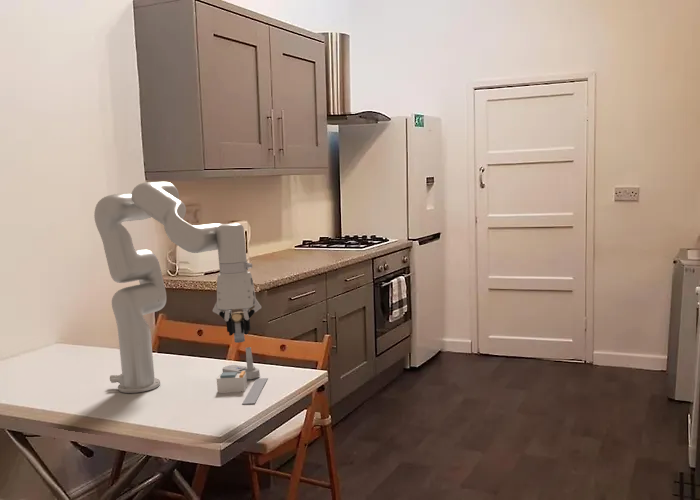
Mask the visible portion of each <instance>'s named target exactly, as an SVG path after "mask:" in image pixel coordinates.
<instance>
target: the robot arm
mask: <svg viewBox="0 0 700 500" xmlns="http://www.w3.org/2000/svg"><path fill="white" fill-rule="evenodd" d="M93 213H94V215H93V216H94V217H93V218H94V221H95V222H94V223H95V226H96V229H97V232H98V234H99V235H100V236H99V237H100V239H101V241H102V245H103V250H104V254H105V258H106V262H107V266H108V270H109V274H110V277H111V278H112V280H113V281H114V282H115V283H119V284H125V283H132V282H135V281H138V282H139V284H134V285H131V286H130V285H129V286H125V287H122V288H121V289H119V290H116V292H115V293H114V294H113V296H112V298H111V308H112V312H113V315H114V318H115V322H116V327H117V336H118V345H119V346H118V347H119V355H120V356H119V357H120V366H121V373H120V374H118V375H117V374H111V375H109V381H110V383H112V384H113V383H114V384H115V383H116V384H117V383H118V386H117V390H118V391H119V392H121V393H125V394H136V393H137V394H138V393H142V392H148V391H152V390H154V389H156V388H158V387H159V386H160V385H161V380H160V379H159V378H157V377H155V367H154V359H153V345H152V333H151V329H150V328H151V327H150V325H149V323H148V322H147V321H146V319H145V317H144V316H145V315H148V314H153V313H155V312H158V311H161V310H162V309H163V308H165V306H166V304H167V298H168V297H167V290H166V287H165V281H164V278H163V273H162V269H161V265H160V261H159V259H158V257H157V255H155V253H154V252H153V251H152V250H150V249H146V248H140V249H135V247H134V244H133V238H132V236H131V234H130V232H129V230H128V229H127V228H126V227H125V226H124V225H123V222H133V221H135V222H136V221H142V220H148V219H151V218H153V219H154V220H155V221H157V222H158V223H159V224H161V225H163V228H164V232H165V234H166V236H167V239H169V240H170V241H171V242H172V243H173V244H175V246H178V247H179V248H181V249H182V250H184V251H187V252H188V253H190V254H191V253H192V254H199V253H204V252H212V251H216V250H217V254H218V255H217V256H218V266H219V274H218V275H217V279H216V302H215V303H214V307H213V308H212V313H214V314H217V315H218V316H220V317H221V318H222V319H223V320H224V321H225V322H226V324H225V325H226V332H227V333H228V335H229V336H232V335H233V336H234V329H233V321H231V313H232V311H237V310H239V311H240V310H242V312H243V313H244V320H243V326H244V336H246V335H248V334H249V331H251V322H250V321H251V320H250V318H251V317H253V315H254V314H255V313H257V312H259V310H261V309H262V305H261V304H260V302H259V301H258V299H257V298H256V297H257V296H256V291H255V285H254V279H253V276H252V272H251V271H249V270H250V269H252V268H253V262H252V263H250V262H248V260H247V249H246V238H245V229H244V225H243V224H241V223H217V222H214V223H204V224H197V225H194V224H193V225H192V224H191V223H189V222H187V221H186V220H184V219H185V217H186V213H187V207H186V204H185V202H183V201H181V200H180V194H179V190H178V189H177V187H176V186H175V185H174V184H173V183H171V182H169V181H145V182H142V183H139V184H138V185H136V186H135V187H134V188H133V189H132V191H131V193H130V192H129V193H127V192H126V193H114V194H109V195H106V196H104V197H102V198H101V199H99V201H98V202H97V204H96V205H95V208H94V212H93ZM250 309H251V310H250Z"/></svg>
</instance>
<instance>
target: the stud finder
mask: <svg viewBox="0 0 700 500" xmlns="http://www.w3.org/2000/svg"><path fill="white" fill-rule="evenodd" d="M247 380H248V379H247V378H246V373H245V371H242V372H241V373H240V374H237V372H226V373H223V372H221V374H219V375H218V376H217V378H216V389H217V393H218V394H219V393H220V394H221V393H222V394H223V393H241V391H242V393H243V391H244V392H245V391H246V390H247V387H248V383H247V382H248V381H247Z"/></svg>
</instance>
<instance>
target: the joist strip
mask: <svg viewBox="0 0 700 500" xmlns="http://www.w3.org/2000/svg"><path fill="white" fill-rule="evenodd" d="M267 381H268V377H264V378H263V377H262V378H259V377H258V378H255V379H254V382H253V384H252V386H251V388H250V389H249V391H248V393H247V395H246V396H245V397H244V400H243V402H242V403H241V405H242V406H243V405H246V406H247V405H256V403H257V400H258V399H259V397H260V395H261V393H262V391H263V389H264V387H265V385H266V383H267Z"/></svg>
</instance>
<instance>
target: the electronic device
mask: <svg viewBox="0 0 700 500" xmlns="http://www.w3.org/2000/svg"><path fill="white" fill-rule="evenodd" d="M252 353H253V352H252V347H250V346H249V347H245V356H246V357H245V362H246V365H245V366H244V365H237V364H231V365H225V366H223V367H222V373H226V372H237V374H240V373H241V372H242V371H245V373H246V378H247V380H253V379H254V380H256V379H258V378H259V377H260V375H261V374H260V369H259V368H257V367H256V366H254V360H253V354H252Z"/></svg>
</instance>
